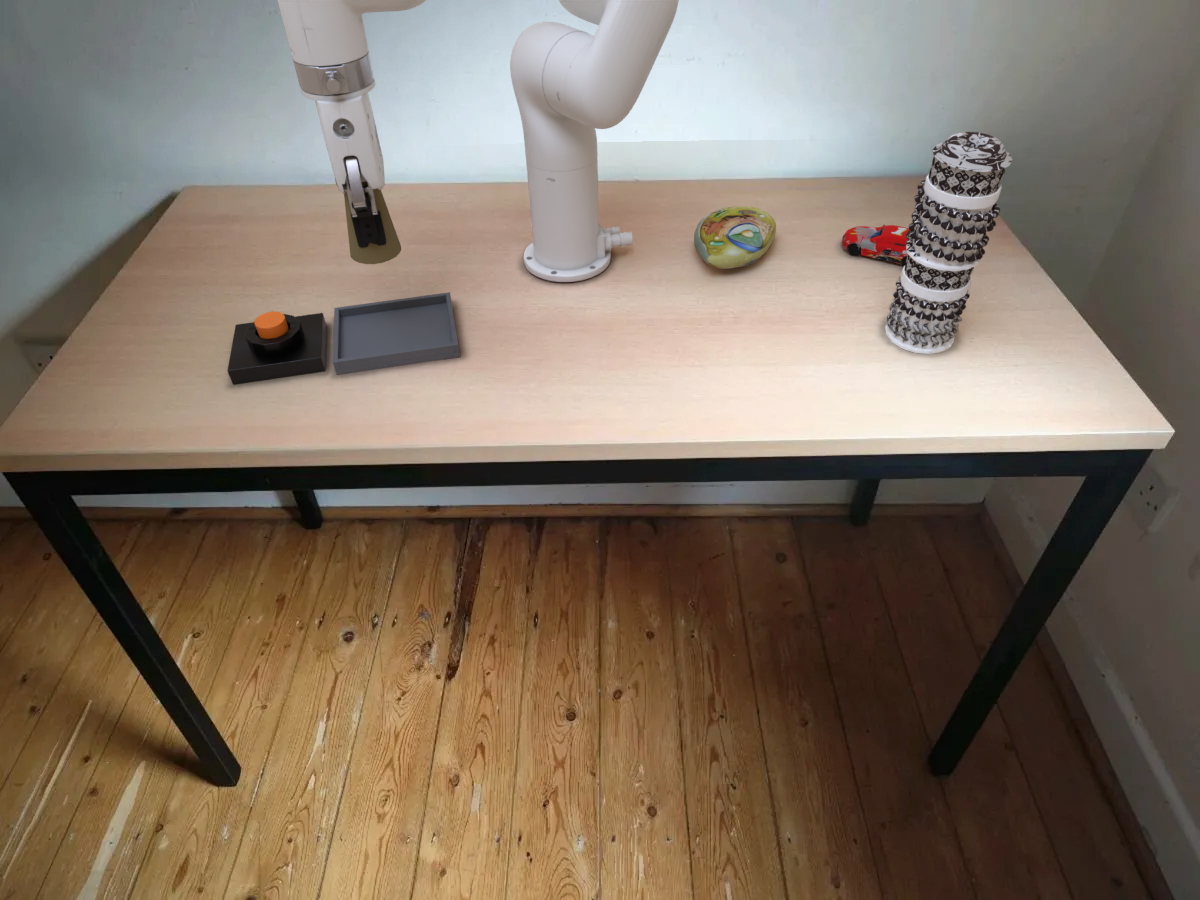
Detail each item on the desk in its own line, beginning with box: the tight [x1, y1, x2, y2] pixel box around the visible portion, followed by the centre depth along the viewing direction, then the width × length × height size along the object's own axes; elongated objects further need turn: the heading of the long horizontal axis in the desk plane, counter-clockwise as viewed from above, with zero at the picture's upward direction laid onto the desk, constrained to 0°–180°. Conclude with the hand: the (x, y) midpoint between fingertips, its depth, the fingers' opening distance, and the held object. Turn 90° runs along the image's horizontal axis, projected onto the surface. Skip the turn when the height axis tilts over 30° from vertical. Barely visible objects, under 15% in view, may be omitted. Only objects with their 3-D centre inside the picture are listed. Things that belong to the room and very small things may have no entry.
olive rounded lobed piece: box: [334, 161, 402, 265], centre depth 95 cm, size 6×6×11 cm
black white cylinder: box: [884, 131, 1013, 355], centre depth 97 cm, size 9×9×25 cm
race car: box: [841, 224, 911, 267], centre depth 119 cm, size 13×5×4 cm, turn 60°
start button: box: [254, 311, 289, 339], centre depth 103 cm, size 4×4×2 cm
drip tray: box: [332, 291, 461, 376], centre depth 107 cm, size 15×12×2 cm
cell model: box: [693, 206, 777, 269], centre depth 119 cm, size 11×8×15 cm
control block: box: [226, 312, 328, 386], centre depth 104 cm, size 11×10×4 cm
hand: (372, 233), depth 98 cm, fingers closed on olive rounded lobed piece, 4 cm apart
